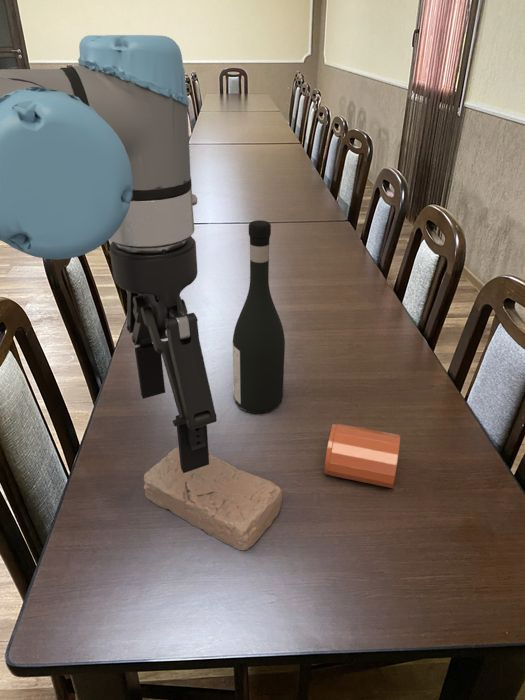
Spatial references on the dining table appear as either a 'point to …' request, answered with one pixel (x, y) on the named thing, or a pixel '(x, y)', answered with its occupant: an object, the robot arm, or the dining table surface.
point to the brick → (215, 498)
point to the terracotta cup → (362, 455)
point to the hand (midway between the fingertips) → (172, 427)
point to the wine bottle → (258, 334)
